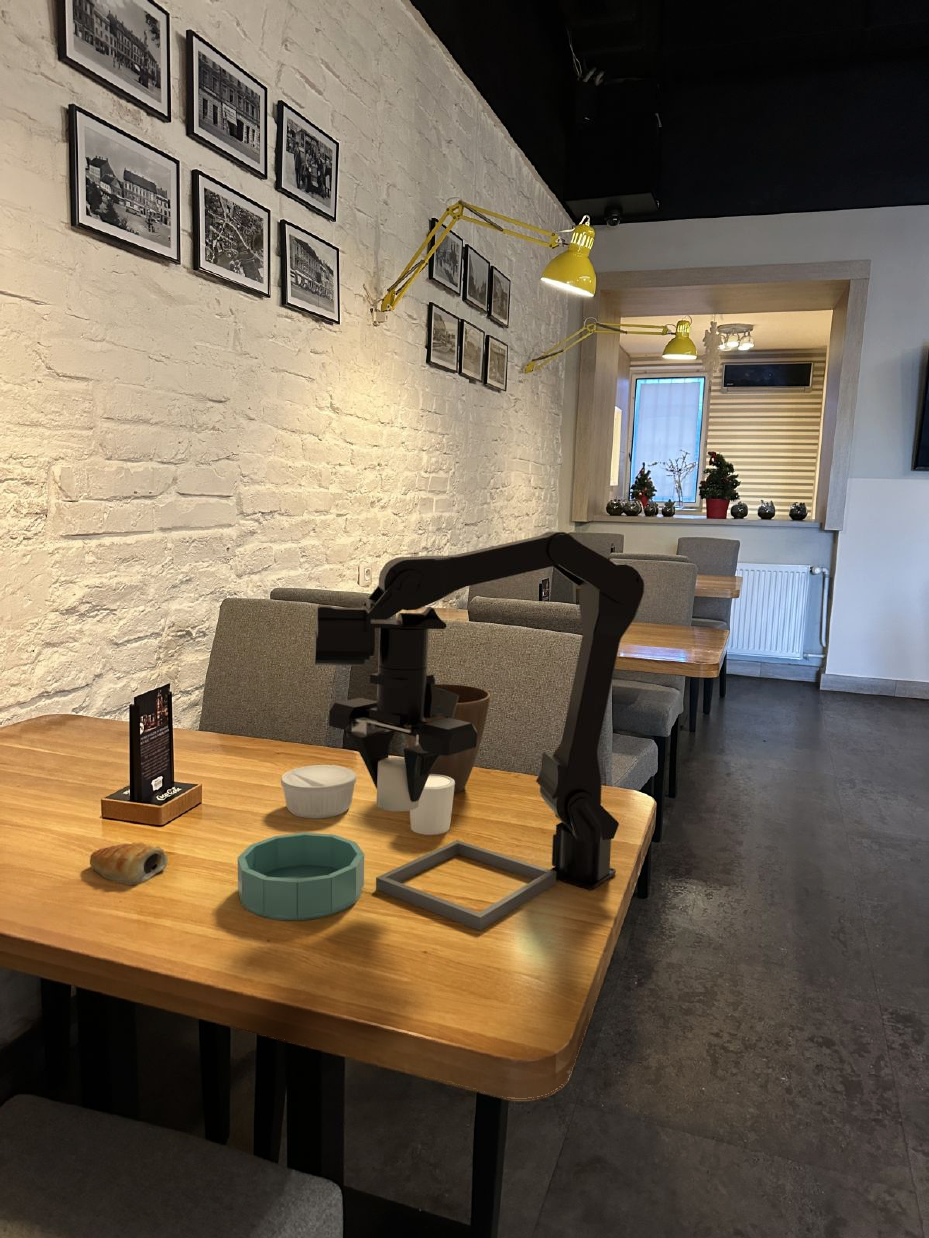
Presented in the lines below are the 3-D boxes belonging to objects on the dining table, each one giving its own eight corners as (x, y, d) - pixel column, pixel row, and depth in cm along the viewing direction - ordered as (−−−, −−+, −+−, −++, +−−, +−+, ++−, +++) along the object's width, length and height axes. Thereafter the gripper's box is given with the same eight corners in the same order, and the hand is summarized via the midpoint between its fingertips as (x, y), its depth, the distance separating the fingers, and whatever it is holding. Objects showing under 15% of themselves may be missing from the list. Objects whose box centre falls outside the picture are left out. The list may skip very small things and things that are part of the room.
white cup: (397, 830, 120) (397, 782, 119) (421, 815, 126) (422, 770, 125) (439, 840, 117) (440, 791, 116) (462, 824, 123) (463, 778, 122)
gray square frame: (556, 883, 104) (556, 871, 104) (480, 930, 92) (480, 917, 91) (456, 850, 113) (456, 839, 113) (375, 889, 101) (376, 877, 101)
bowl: (386, 889, 101) (387, 853, 101) (295, 933, 90) (295, 893, 89) (306, 857, 110) (306, 824, 109) (214, 894, 99) (213, 857, 98)
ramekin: (268, 817, 124) (268, 782, 124) (300, 793, 135) (300, 761, 135) (339, 825, 122) (339, 790, 121) (366, 800, 133) (366, 768, 132)
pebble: (427, 804, 100) (429, 763, 100) (399, 814, 96) (400, 772, 96) (396, 794, 103) (397, 754, 103) (367, 804, 99) (369, 762, 99)
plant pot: (497, 800, 134) (499, 701, 132) (403, 805, 131) (405, 704, 129) (476, 772, 148) (479, 683, 146) (392, 775, 145) (393, 684, 143)
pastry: (75, 875, 103) (74, 845, 103) (115, 856, 110) (115, 827, 109) (136, 889, 100) (136, 858, 100) (174, 868, 106) (174, 839, 106)
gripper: (508, 669, 99) (501, 798, 101) (390, 649, 110) (386, 765, 112) (448, 681, 90) (442, 822, 92) (327, 657, 101) (324, 783, 103)
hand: (397, 795), depth 100 cm, fingers closed on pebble, 5 cm apart
